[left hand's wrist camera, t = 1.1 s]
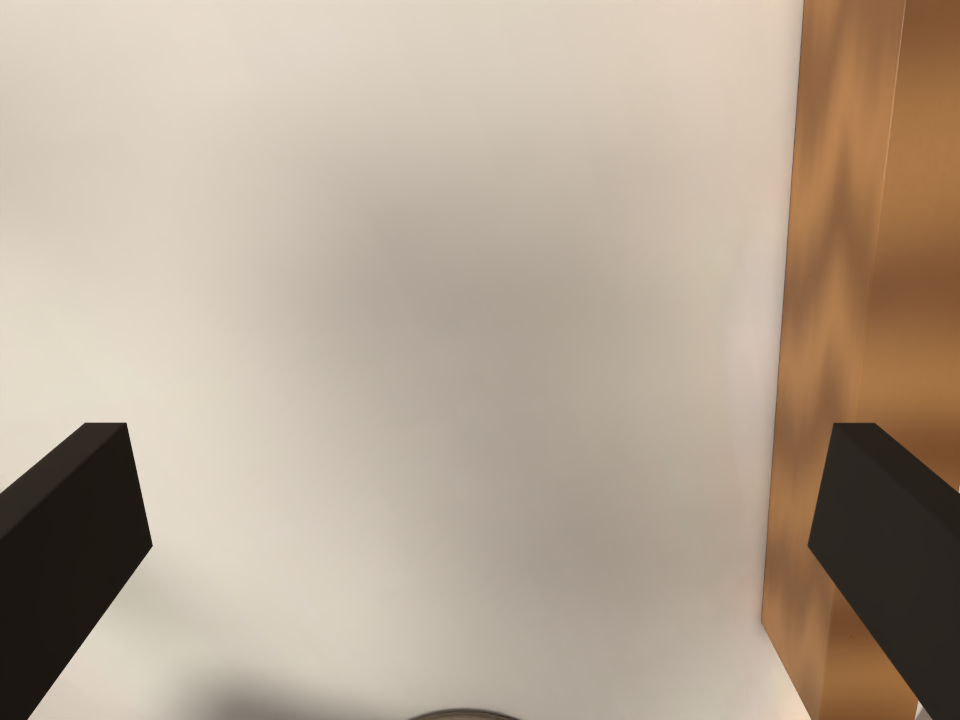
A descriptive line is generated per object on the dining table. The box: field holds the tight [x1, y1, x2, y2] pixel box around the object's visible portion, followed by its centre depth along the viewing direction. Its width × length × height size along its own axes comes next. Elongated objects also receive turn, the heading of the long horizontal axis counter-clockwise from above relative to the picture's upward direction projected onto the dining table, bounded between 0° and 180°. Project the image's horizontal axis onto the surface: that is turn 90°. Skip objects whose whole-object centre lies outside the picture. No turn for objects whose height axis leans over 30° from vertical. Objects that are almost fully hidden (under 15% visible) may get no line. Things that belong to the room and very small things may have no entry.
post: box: [761, 0, 960, 720], centre depth 27 cm, size 70×5×8 cm, turn 6°
